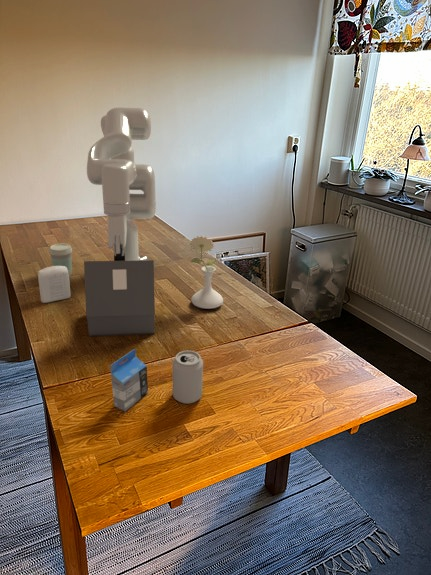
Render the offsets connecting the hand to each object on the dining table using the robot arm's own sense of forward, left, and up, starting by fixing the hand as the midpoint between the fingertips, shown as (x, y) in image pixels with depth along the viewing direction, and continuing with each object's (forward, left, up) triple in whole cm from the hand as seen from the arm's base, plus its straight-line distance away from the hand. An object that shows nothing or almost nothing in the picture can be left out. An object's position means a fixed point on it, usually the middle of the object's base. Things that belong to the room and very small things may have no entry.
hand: (120, 266), depth 139 cm
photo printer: (+4, -30, -20) cm, 37 cm away
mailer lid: (+3, +3, -5) cm, 7 cm away
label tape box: (+25, +30, -20) cm, 44 cm away
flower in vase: (-28, +12, -20) cm, 37 cm away
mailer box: (0, 0, -20) cm, 20 cm away
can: (+15, +40, -20) cm, 47 cm away
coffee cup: (-10, -45, -20) cm, 51 cm away
